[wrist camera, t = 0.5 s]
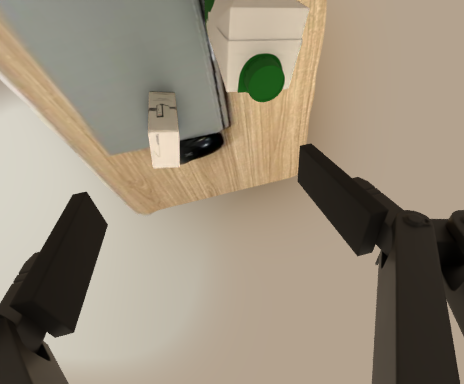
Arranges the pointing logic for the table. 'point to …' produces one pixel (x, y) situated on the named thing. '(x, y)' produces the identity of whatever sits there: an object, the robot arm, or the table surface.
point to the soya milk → (256, 43)
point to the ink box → (163, 130)
